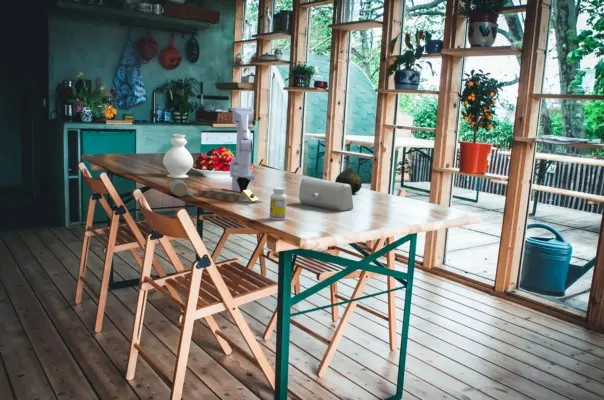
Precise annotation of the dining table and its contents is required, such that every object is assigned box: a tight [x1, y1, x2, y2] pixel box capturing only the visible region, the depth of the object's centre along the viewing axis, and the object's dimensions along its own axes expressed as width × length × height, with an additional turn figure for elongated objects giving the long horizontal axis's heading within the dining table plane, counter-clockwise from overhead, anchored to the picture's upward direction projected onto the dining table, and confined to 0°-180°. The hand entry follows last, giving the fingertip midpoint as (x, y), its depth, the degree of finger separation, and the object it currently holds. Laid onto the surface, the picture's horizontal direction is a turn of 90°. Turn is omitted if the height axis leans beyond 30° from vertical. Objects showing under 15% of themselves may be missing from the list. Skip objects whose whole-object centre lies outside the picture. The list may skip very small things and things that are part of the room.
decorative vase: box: [162, 133, 194, 179], centre depth 337 cm, size 18×18×25 cm
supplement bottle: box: [269, 187, 288, 221], centre depth 231 cm, size 7×7×13 cm
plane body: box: [197, 187, 246, 203], centre depth 274 cm, size 22×10×4 cm, turn 59°
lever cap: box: [242, 189, 259, 204], centre depth 266 cm, size 7×5×3 cm
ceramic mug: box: [169, 178, 194, 198], centre depth 272 cm, size 11×8×8 cm
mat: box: [233, 199, 263, 206], centre depth 267 cm, size 12×8×1 cm, turn 149°
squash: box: [334, 167, 363, 195], centre depth 318 cm, size 14×15×15 cm
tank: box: [298, 177, 354, 212], centre depth 266 cm, size 25×16×12 cm, turn 54°
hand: (242, 193), depth 268 cm, fingers closed
